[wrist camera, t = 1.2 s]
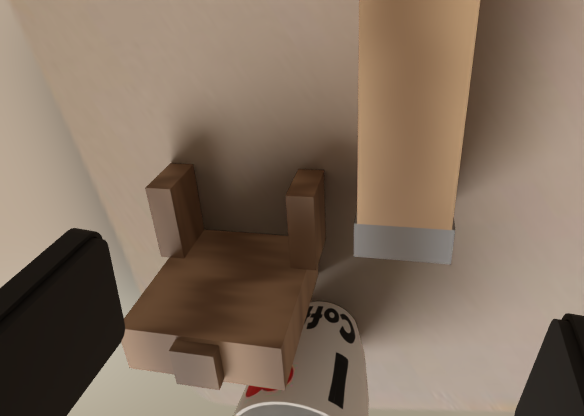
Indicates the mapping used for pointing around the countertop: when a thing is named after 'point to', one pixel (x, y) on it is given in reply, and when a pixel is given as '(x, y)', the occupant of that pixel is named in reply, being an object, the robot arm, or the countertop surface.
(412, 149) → the wooden block
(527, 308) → the countertop surface
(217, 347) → the wooden footed block
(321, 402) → the cup
